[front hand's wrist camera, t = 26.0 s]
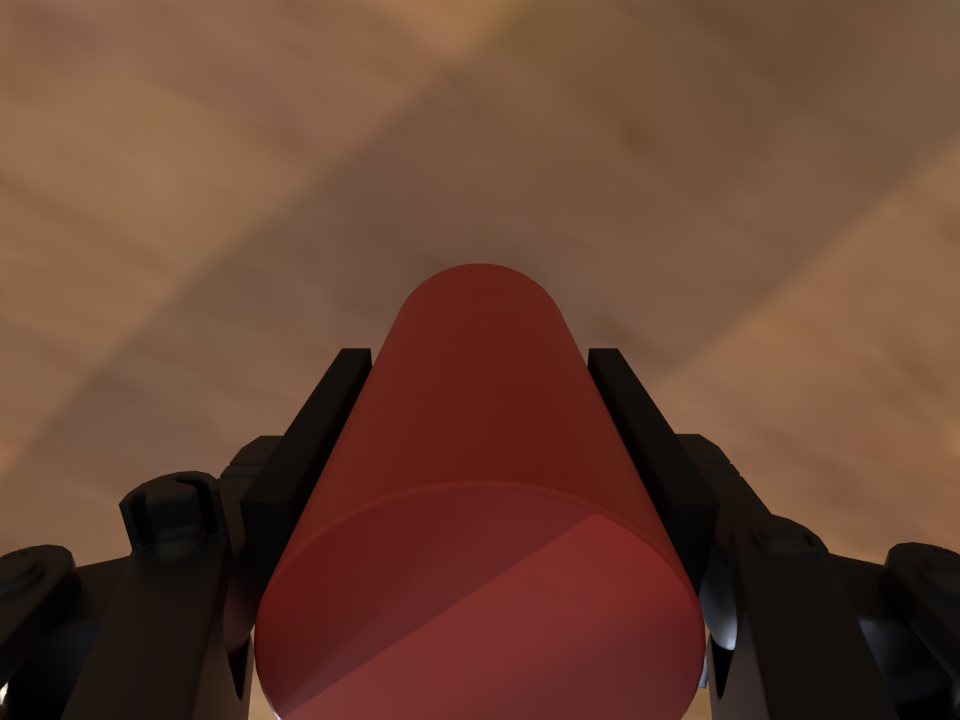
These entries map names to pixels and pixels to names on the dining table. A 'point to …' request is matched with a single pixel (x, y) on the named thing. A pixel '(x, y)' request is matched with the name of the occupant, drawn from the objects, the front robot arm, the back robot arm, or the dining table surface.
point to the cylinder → (479, 536)
